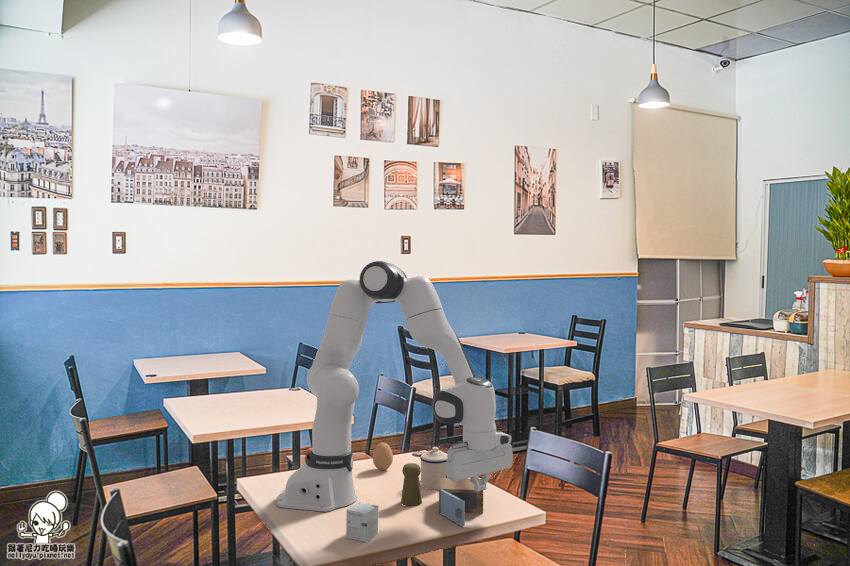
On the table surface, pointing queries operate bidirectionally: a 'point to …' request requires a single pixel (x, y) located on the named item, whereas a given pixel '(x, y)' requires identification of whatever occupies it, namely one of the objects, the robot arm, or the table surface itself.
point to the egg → (382, 456)
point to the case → (464, 493)
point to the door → (452, 507)
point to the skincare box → (362, 521)
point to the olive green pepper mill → (411, 485)
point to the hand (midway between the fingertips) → (480, 490)
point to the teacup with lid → (433, 468)
